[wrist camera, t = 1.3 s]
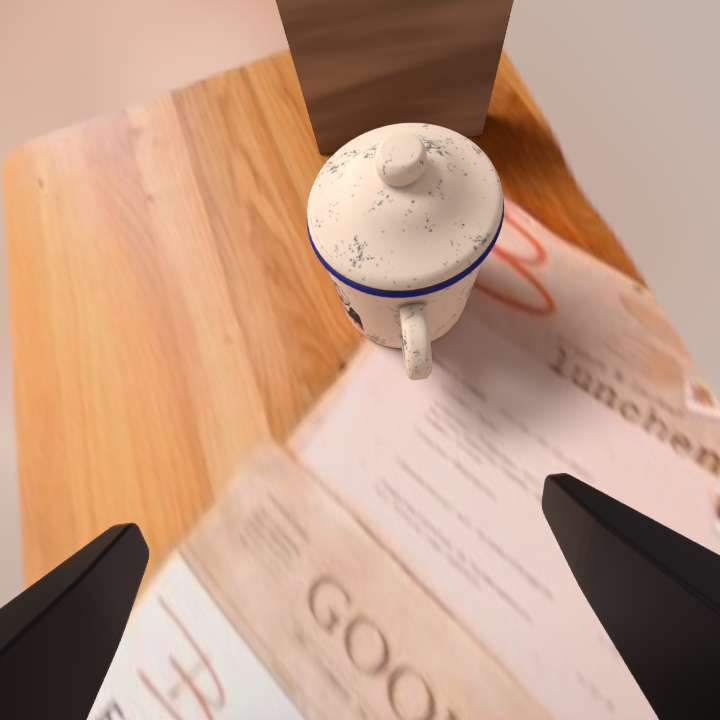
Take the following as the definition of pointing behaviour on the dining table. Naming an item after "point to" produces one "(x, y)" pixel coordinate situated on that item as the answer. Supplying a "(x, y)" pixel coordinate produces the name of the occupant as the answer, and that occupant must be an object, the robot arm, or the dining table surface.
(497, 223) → the teacup with lid
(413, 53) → the bookend
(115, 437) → the dining table surface
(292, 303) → the dining table surface
